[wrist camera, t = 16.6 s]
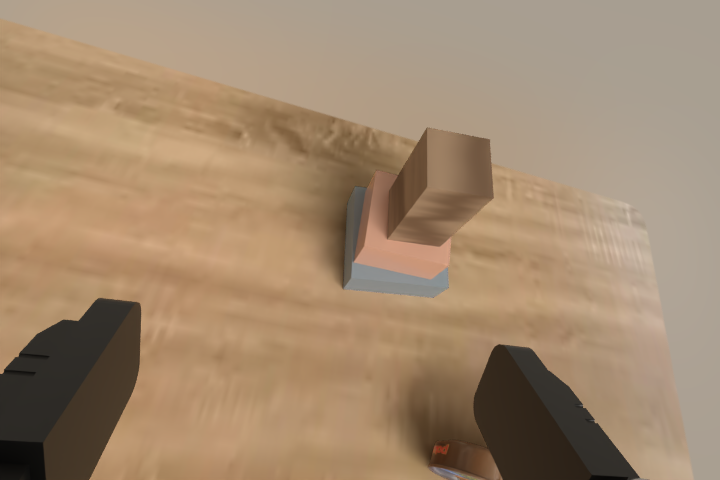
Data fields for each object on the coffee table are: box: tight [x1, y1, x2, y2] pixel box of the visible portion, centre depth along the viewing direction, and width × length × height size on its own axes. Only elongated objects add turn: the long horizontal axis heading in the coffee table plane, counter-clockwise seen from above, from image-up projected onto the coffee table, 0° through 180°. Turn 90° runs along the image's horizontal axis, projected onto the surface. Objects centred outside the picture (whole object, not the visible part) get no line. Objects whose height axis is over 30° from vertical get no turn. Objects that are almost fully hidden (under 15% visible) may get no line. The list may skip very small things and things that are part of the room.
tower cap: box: [354, 170, 451, 280], centre depth 43 cm, size 8×8×4 cm
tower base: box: [343, 186, 449, 298], centre depth 47 cm, size 10×10×4 cm
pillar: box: [387, 128, 494, 247], centre depth 37 cm, size 5×5×10 cm
